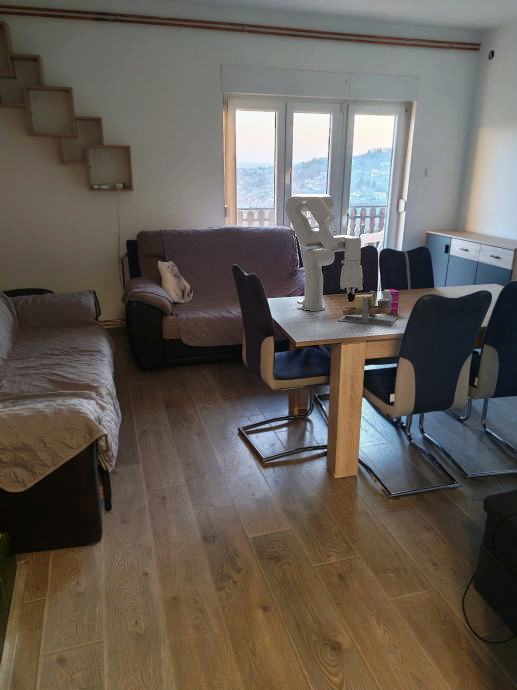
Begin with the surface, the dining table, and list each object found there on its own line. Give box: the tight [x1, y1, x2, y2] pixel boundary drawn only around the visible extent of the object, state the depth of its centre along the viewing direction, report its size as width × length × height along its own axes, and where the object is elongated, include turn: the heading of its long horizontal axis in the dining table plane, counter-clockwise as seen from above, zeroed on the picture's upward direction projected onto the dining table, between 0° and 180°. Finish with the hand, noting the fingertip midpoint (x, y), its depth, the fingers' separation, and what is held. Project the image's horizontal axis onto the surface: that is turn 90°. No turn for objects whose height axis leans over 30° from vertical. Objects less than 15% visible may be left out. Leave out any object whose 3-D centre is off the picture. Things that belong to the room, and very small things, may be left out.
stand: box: [337, 290, 398, 327], centre depth 245 cm, size 25×17×13 cm
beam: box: [342, 298, 391, 316], centre depth 245 cm, size 22×6×8 cm, turn 66°
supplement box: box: [382, 288, 400, 315], centre depth 258 cm, size 6×6×12 cm
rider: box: [354, 293, 374, 309], centre depth 245 cm, size 8×4×7 cm, turn 65°
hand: (351, 301), depth 248 cm, fingers closed
